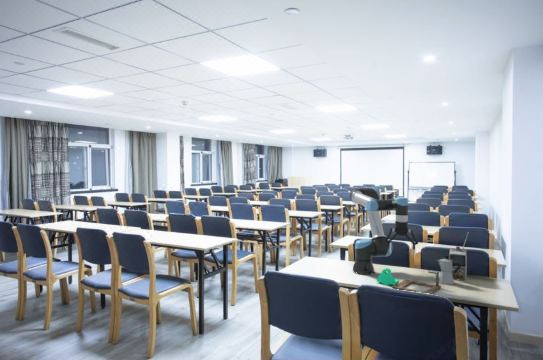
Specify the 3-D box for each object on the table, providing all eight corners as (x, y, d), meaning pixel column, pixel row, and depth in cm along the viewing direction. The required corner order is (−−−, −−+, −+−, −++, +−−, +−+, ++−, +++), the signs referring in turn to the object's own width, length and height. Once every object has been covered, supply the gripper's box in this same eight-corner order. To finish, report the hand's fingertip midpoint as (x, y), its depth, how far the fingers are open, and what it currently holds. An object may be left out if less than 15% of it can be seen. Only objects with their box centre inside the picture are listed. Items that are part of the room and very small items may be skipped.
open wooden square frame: (392, 288, 226) (392, 272, 226) (405, 280, 242) (405, 265, 241) (428, 296, 211) (428, 279, 211) (440, 287, 227) (440, 271, 227)
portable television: (448, 280, 243) (448, 235, 242) (449, 271, 264) (449, 230, 263) (468, 282, 237) (469, 236, 237) (468, 273, 258) (468, 231, 258)
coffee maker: (433, 282, 239) (433, 254, 238) (439, 279, 245) (439, 252, 245) (458, 287, 228) (458, 258, 228) (462, 284, 234) (463, 256, 234)
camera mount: (399, 283, 236) (399, 268, 235) (395, 286, 230) (395, 270, 229) (381, 280, 243) (381, 265, 243) (376, 283, 237) (376, 267, 237)
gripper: (381, 221, 239) (380, 253, 239) (422, 223, 228) (421, 256, 229) (382, 219, 245) (382, 250, 246) (422, 221, 235) (422, 254, 236)
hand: (401, 253), depth 238 cm, fingers open, 13 cm apart
